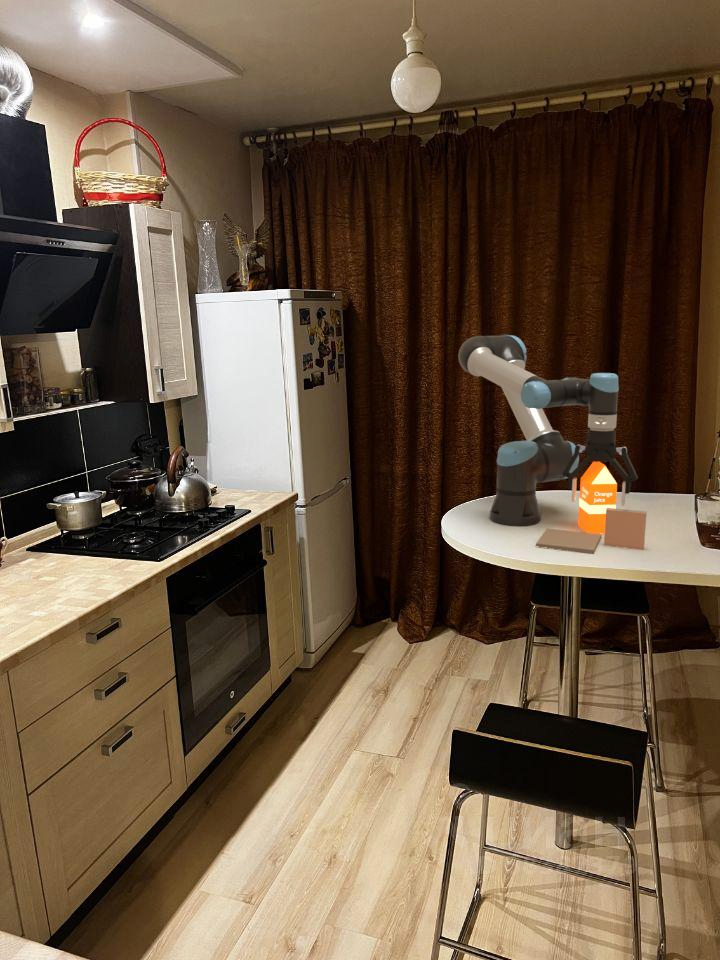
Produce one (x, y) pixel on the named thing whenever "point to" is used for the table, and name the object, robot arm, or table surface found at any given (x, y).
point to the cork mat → (569, 540)
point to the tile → (625, 528)
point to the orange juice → (596, 498)
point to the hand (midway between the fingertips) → (598, 502)
